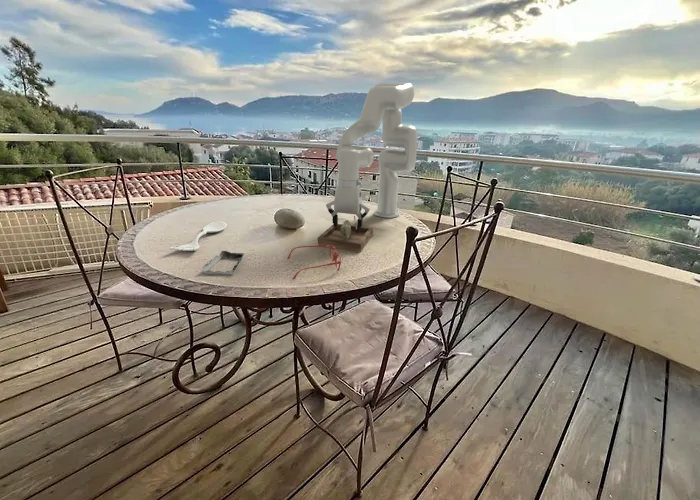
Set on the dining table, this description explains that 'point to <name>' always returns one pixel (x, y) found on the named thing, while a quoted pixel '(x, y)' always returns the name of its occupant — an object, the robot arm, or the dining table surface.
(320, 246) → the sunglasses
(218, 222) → the spoon
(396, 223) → the dining table surface
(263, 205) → the dining table surface
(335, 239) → the wooden tray
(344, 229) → the cuneiform tablet
